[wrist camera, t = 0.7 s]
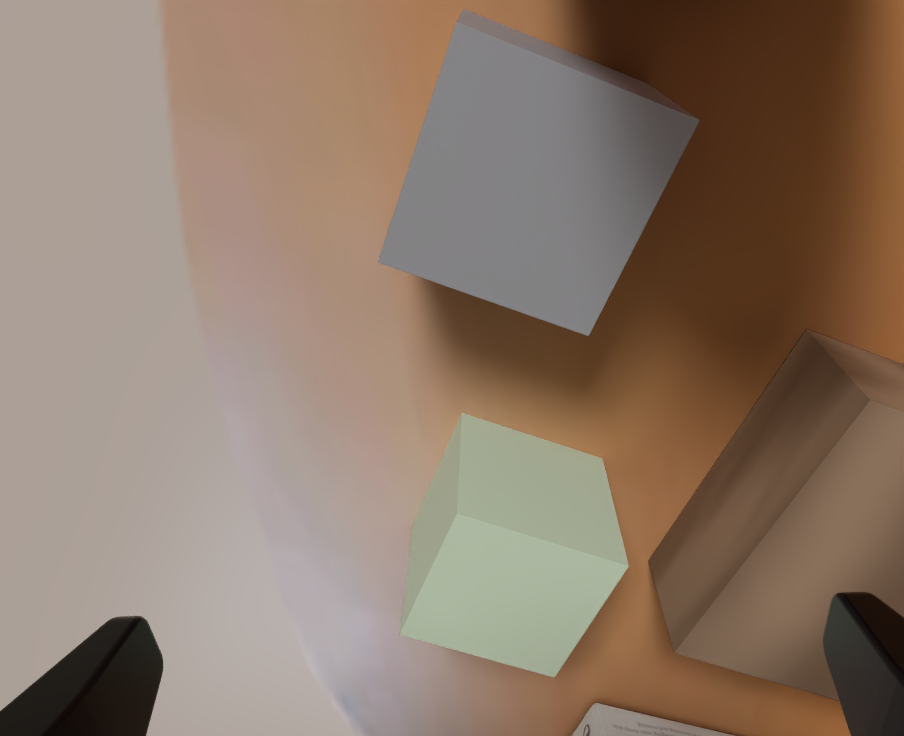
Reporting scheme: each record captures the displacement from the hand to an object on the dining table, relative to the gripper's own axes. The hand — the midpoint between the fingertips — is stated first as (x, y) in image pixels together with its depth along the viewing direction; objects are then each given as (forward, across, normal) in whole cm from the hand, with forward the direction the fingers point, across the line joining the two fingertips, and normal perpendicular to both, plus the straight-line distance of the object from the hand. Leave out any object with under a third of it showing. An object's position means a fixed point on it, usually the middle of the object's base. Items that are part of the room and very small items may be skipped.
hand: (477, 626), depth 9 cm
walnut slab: (+13, -12, +9) cm, 20 cm away
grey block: (+13, -1, -3) cm, 13 cm away
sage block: (+13, 0, +8) cm, 15 cm away
